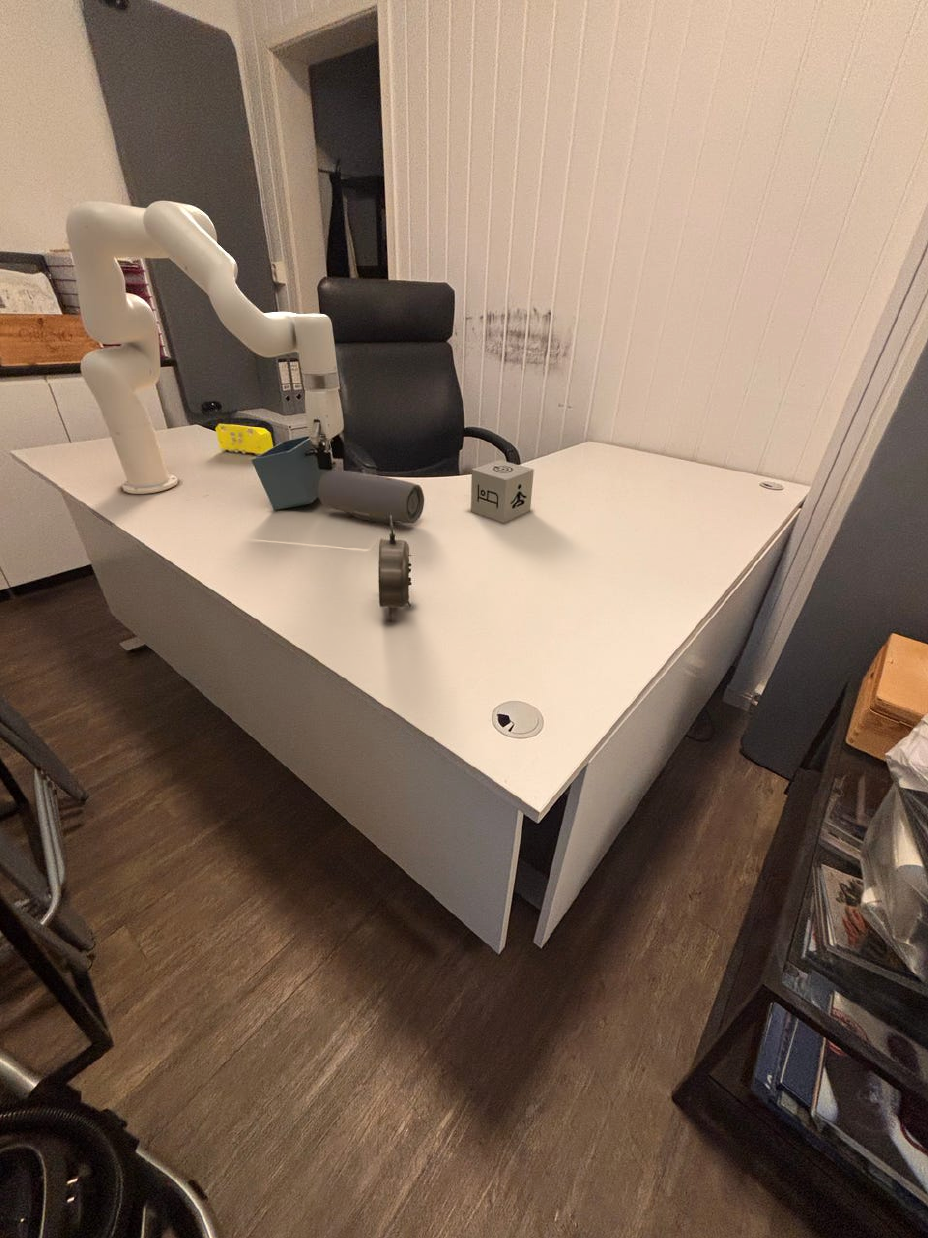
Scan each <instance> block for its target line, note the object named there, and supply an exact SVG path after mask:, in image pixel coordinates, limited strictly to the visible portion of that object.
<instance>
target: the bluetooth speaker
mask: <svg viewBox="0 0 928 1238" xmlns="http://www.w3.org/2000/svg"><path fill="white" fill-rule="evenodd" d="M318 499H319V501H320V503H321V504H322V505H323V506H325V507H329V508H330V509H334V510H338V511H342V512H346V513H348V514H349V513H350V514H351V516H352V517H354V518H357V519H361V520H365V521H371V522H374V523H375V522H376V523H382V524H388V525H389V524H390V516H392V522H393V523H394V522H396V523H405V524H414V523H415V522H417V521H418V520H419V519H420V518H421V516H422V514H423V511H424V507H425V495H424V492H423V488H422V487H421V485H419V484H417V483H414V482H410V481H408V480H407V481H406V480H402V479H396V478H392V477H387V476H382V475H377V474H372V473H364V472H359V471H351V470H341V469H332V470H327V471H325V472H324V473H323V474H322V475H321V477H320V480H319V485H318Z"/></svg>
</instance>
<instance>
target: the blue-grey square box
mask: <svg viewBox="0 0 928 1238" xmlns="http://www.w3.org/2000/svg"><path fill="white" fill-rule="evenodd" d="M320 442H322V441H320ZM322 443H323V445H324V443H325V441H323V442H322ZM330 451H331V443H329V450H328V452H330ZM250 461H251V463H252V465H253V467H254V469H255V472H256V474H257V476H258V479H259V481H260V482H261V485H262V487H263V489H264V491H265V493H266V495H267V498H268V500H269V502H270V504H271V507H272V509H273V511H277V510H283V509H288V508H293V507H299V506H304V505H308V504H312V503H313V502H314V501H315V500H316V499H319V497H318V485H319V480H320V477H321V475H322V474H323V473H324V472H325V471H327V470H320V469H319V468H318V462H317V456H316V452H315V448H314V447H313V443H312V442H311V440H310V438H309V435H305V436H301V437H297V438H293V439H288V440H284V441H283V440H282V441H281V442H279V443H277V444H275V445H273V447H272V448H271V449H269V450H267V451H265V452H264V453H262V454H260V455H256V456H255V457H253V458H252V459H250Z"/></svg>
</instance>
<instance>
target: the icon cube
mask: <svg viewBox="0 0 928 1238" xmlns="http://www.w3.org/2000/svg"><path fill="white" fill-rule="evenodd" d="M534 472H535V469H534V468H531V467H527V466H524V465H519V464H516V463H512V462H509V461H506V460H502V459H498V460H496V461H492V462H489V463H487V464H483V465H481V466H480V465H479V466H476V467H475V468H472V469H471V484H470V485H471V486H470V512H472V513H474V514H478V515H480V516H483V517H486V518H488V519H491V520H493V521H497V522H498V523H502V524H505V523H507V522H509V521H511V520H512V521H513V520H514V519H516V518H518V517H520V516H522V515H525V514H527V513H529V512H530V511H531V505H532V494H533V483H534V474H535V473H534Z"/></svg>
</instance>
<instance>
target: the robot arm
mask: <svg viewBox="0 0 928 1238" xmlns="http://www.w3.org/2000/svg"><path fill="white" fill-rule="evenodd" d="M65 232H66V238H67V242H68V247H69V249H70V254H71V257H72V261H73V265H74V271H75V280H76V289H77V296H78V303H79V311H80V318H81V321H82V326H83V328H84V331H85V332H86V334H87V335H88V336H89V337H90V338H91V339H92V340H93V341H95V342H97V343H100V344H103V345H120V346H112V347H111V346H110V347H103V348H98V349H94V350H92V351H90V352H88V353H86V354H85V355H84V356H83V357H82V359H81V360H80V361H81V363H80V372H81V375H82V378H83V380H84V383H86V385H87V387H88V389H89V390H90V392H91V394H92V396H93V397H94V400H95V401H96V404H97V406H98V407H99V410H100V412H101V415H102V417H103V419H104V423H105V425H106V427H107V430H108V433H109V436H110V438H111V441H112V443H113V447H114V449H115V452H116V454H117V456H118V459H119V462H120V465H121V468H122V470H123V473H124V476H125V478H126V480H125V481H123V482H122V484H121V487H122V490H123V491H124V492H125V493H127V494H135V495H144V494H145V495H148V494H155V493H160V492H163V491H167V490H170V489H171V488H174V487H175V486H176V485H177V484H178V481H179V480H178V478H177V477H176V475H173V474H169V471H168V467H167V465H166V462H165V458H164V455H163V452H162V449H161V445H160V443H159V440H158V437H157V434H156V431H155V428H154V424H153V422H152V421H153V420H152V419H151V416H150V413H149V411H148V409H147V407H146V405H145V404H144V403H143V401H141V399H140V398H139V397H138V396H137V394H136V392H138V391H141V390H145V389H148V388H151V387H153V386H154V385H157V383H158V382H159V379H160V376H161V354H160V353H161V352H160V336H159V335H160V334H159V326H158V321H157V319H156V316H155V313H154V312H153V310H152V308H151V306H150V305H149V304H148V303H147V302H146V301H145V300H144V299H143V298H141V297H140V296H138V295H136V294H133V293H129V292H127V290H126V279H125V276H124V275H125V274H124V273H123V270H122V268H121V265H120V264H119V261H118V260H117V259H116V257H117V258H118V257H122V258H137V259H169V260H170V261H172V262H173V263H174V264H175V266H177V267H178V268H179V269H180V270H181V271H182V272H183V273H185V275H187V276H188V277H189V278H190V279H191V280H192V281H193V282H194V283H195V284H196V285H197V286H198V287H199V288H201V289H202V290H203V291H204V292H205V293H206V295H207V296H208V298H209V301H210V304H211V306H212V308H213V309H214V311H215V313H216V315H217V317H218V318H219V320H220V322H221V323H222V324H223V325H224V327H225V328H226V329H227V330H228V331H229V332H230V333H231V334H232V335H233V336H235V338H237V339H238V341H240V342H241V343H242V344H243V345H244V346H245V347H246V348H248V350H250V351H252V352H253V353H255V354H257V355H258V356H260V357H263V358H275V357H278V356H282V355H287V354H291V353H297V354H298V360H299V367H300V373H301V379H302V386H303V390H304V411H305V419H306V429H307V436H309V438H310V440H311V442H312V443H313V447H314V448H315V452H316V456H317V462H318V468H319V469H320V470H334V467H333V461H332V459H335V460H345V459H346V458H347V454H346V446H345V436H344V432H345V430H344V428H345V424H344V423H345V420H344V415H343V413H344V412H343V407H342V403H341V401H342V400H341V397H340V396H341V395H340V392H339V390H340V389H341V386H340V378H339V371H338V362H337V355H336V345H335V337H334V331H333V323H332V320H331V318H330V317H329V316H328V315H326V314H323V313H302V314H300V313H299V314H298V313H295V312H290V311H289V312H288V311H277V312H276V311H274V312H266V313H264V312H262V311H261V310H260V309H259V308H258V307H257V306H256V305H255V304H254V303H252V302H251V300H250V299H248V298H247V297H246V295H244V293H243V292H242V291H241V290H240V288H239V286H238V285H237V283H236V280H237V277H238V273H239V271H238V270H239V268H238V265H237V262H236V260H235V259H234V258H233V257H232V256H231V255H230V254H229V253H228V252H227V251H226V250H224V249H223V247H221V246H220V245H219V244H218V235H217V230H216V228H215V226H214V224H213V222H212V221H211V219H210V218H209V216H208V215H207V214H206V213H205V212H203V211H202V210H201V209H200V208H198V207H196V206H194V205H191V204H187V203H180V202H175V201H169V200H157V201H154V202H152V203H150V204H149V205H148V206H147V207H139V206H132V205H127V204H126V205H125V204H120V203H115V202H108V201H99V200H97V201H95V200H93V201H92V200H91V201H84V202H83V201H82V202H80V203H78V204H75V205H74V206H73V207H72V208H71V209H70V210H69V211H68V214H67V216H66V220H65ZM320 441H321V442H320ZM324 442H325V443H324ZM323 443H324V445H323ZM329 444H330V446H331V449H330V450H329ZM328 450H329V451H328Z"/></svg>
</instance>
